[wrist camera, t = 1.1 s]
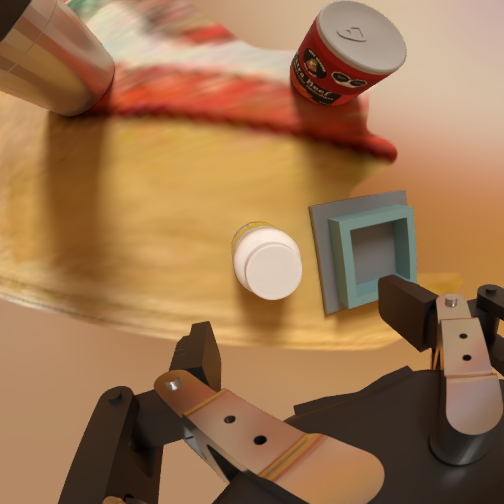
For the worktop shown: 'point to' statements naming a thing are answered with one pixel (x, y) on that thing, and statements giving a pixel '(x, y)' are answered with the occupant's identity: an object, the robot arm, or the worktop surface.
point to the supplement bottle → (266, 260)
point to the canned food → (346, 53)
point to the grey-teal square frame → (362, 246)
